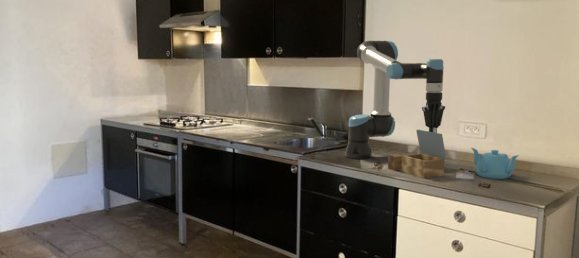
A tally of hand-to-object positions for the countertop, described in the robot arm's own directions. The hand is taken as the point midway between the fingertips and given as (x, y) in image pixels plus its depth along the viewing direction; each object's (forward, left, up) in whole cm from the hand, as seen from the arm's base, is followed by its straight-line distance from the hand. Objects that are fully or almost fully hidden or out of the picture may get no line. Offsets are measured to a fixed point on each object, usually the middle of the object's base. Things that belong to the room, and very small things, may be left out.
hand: (432, 141), depth 235 cm
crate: (0, -6, -15) cm, 16 cm away
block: (-14, -11, -16) cm, 23 cm away
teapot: (+19, +20, -16) cm, 31 cm away
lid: (0, -1, -1) cm, 2 cm away
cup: (-10, +5, -16) cm, 19 cm away
